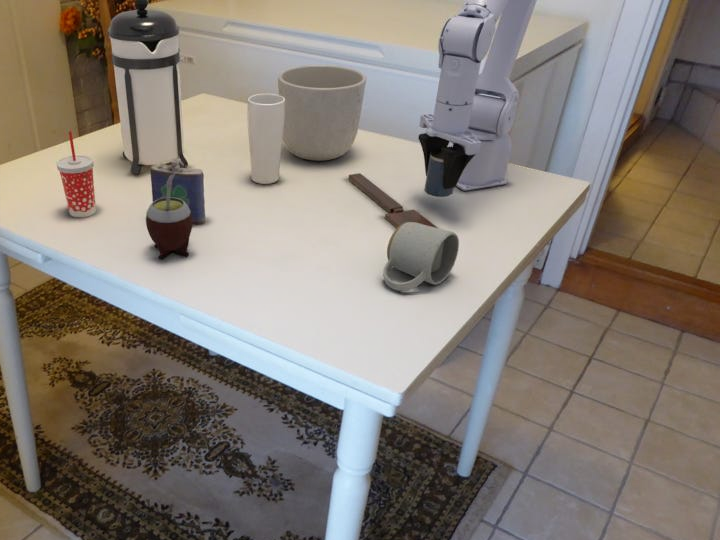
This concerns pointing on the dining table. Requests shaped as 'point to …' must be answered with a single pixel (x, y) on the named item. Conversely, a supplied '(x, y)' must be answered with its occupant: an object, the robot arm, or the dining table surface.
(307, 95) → the planter
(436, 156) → the tin
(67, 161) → the beverage cup
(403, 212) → the spatula
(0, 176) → the dining table surface
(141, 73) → the coffee press
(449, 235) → the ceramic mug
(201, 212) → the flask
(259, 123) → the drinking glass
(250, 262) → the dining table surface
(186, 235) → the mate gourd
